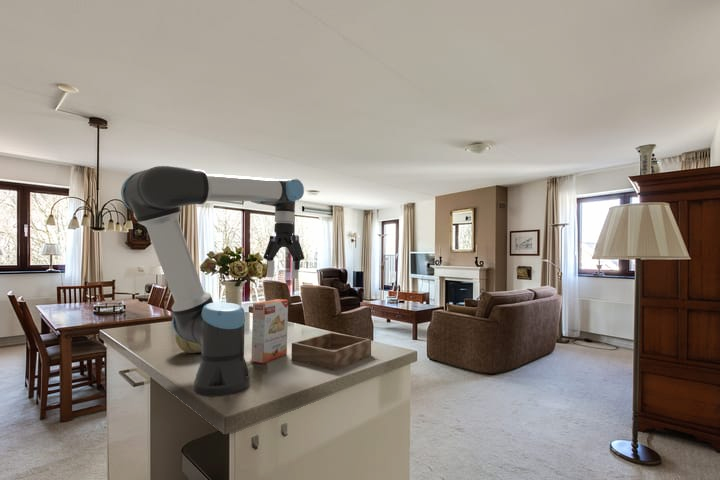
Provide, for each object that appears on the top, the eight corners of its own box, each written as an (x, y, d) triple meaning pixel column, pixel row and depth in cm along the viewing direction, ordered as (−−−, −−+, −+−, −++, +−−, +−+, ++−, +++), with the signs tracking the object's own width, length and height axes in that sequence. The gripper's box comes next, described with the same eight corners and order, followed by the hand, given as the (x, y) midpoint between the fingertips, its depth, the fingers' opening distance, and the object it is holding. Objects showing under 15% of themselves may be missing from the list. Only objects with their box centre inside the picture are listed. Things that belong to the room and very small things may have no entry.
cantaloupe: (224, 350, 142) (225, 312, 143) (192, 360, 129) (193, 318, 130) (199, 345, 149) (199, 309, 149) (166, 354, 136) (167, 314, 136)
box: (334, 370, 118) (334, 351, 118) (291, 359, 130) (291, 343, 130) (371, 355, 136) (371, 339, 136) (330, 347, 148) (330, 332, 148)
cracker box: (264, 364, 124) (265, 303, 125) (250, 362, 127) (251, 302, 128) (288, 354, 137) (288, 299, 138) (275, 352, 140) (276, 298, 140)
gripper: (314, 222, 136) (312, 279, 134) (270, 225, 150) (268, 276, 149) (300, 220, 130) (298, 279, 128) (255, 223, 144) (253, 276, 143)
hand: (282, 277), depth 139 cm, fingers open, 13 cm apart
